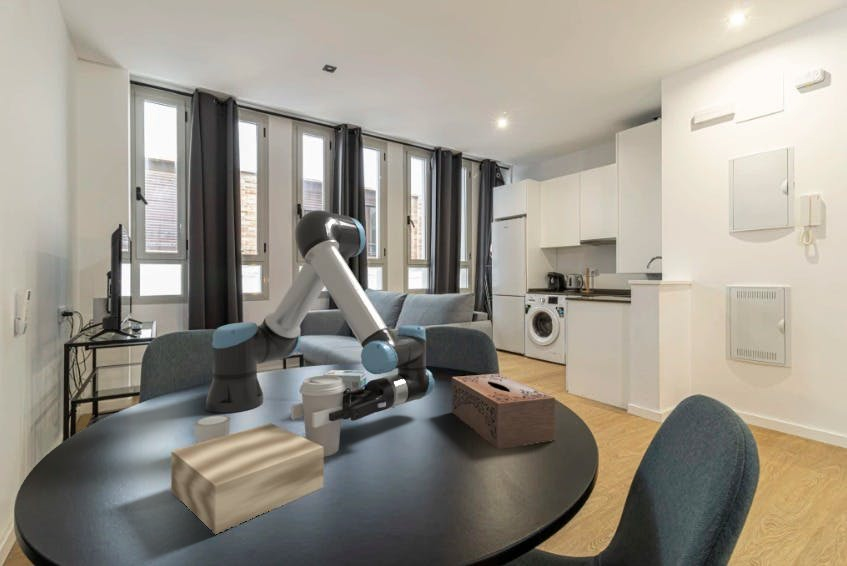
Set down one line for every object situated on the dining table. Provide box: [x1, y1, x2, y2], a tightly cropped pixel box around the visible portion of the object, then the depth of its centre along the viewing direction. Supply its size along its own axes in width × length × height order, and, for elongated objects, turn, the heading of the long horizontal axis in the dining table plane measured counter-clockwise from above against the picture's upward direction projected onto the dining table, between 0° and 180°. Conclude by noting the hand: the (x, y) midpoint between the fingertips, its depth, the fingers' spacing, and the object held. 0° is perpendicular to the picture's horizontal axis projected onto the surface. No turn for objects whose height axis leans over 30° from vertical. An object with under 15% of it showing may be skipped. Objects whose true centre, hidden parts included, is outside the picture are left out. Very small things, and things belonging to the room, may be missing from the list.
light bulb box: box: [323, 369, 367, 414], centre depth 113 cm, size 11×7×11 cm, turn 84°
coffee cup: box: [298, 375, 346, 457], centre depth 86 cm, size 10×10×15 cm
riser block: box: [170, 423, 325, 534], centre depth 70 cm, size 18×18×7 cm
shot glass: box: [193, 414, 232, 444], centre depth 84 cm, size 7×7×7 cm
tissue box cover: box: [451, 373, 556, 450], centre depth 101 cm, size 26×14×10 cm, turn 19°
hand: (302, 416), depth 82 cm, fingers closed on coffee cup, 7 cm apart
